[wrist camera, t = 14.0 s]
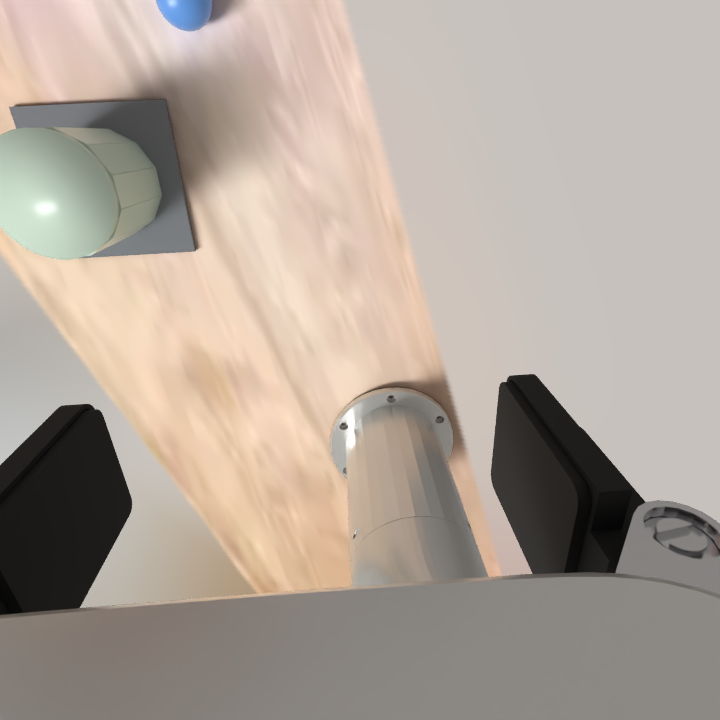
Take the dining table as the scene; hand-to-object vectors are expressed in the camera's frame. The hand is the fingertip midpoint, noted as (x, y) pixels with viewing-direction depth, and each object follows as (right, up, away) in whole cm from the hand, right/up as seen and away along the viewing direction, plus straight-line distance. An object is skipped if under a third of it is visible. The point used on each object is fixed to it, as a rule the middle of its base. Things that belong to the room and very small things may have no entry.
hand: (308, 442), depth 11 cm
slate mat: (-18, +16, +25) cm, 35 cm away
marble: (-10, +25, +19) cm, 33 cm away
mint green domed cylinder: (-18, +16, +25) cm, 34 cm away
